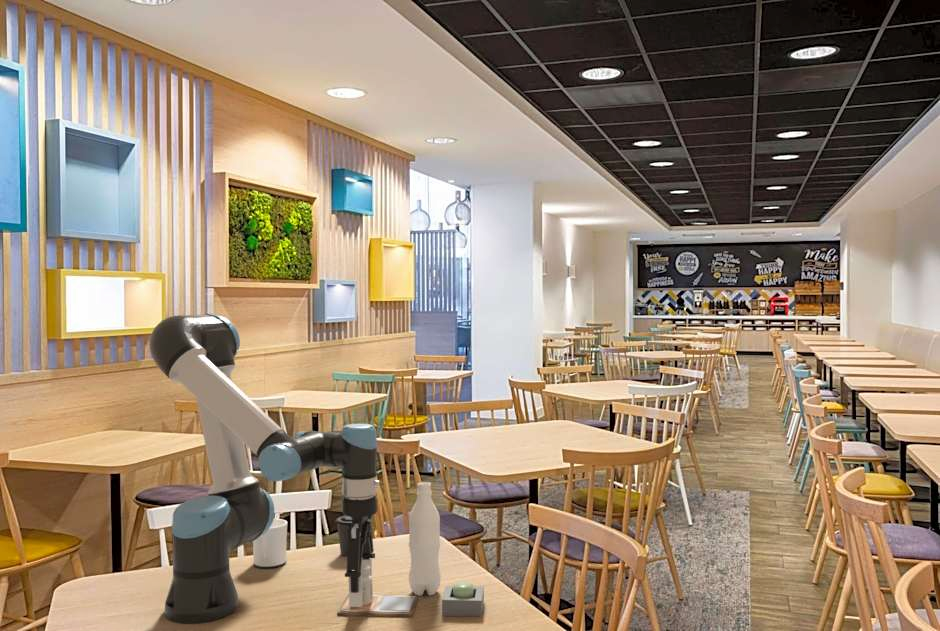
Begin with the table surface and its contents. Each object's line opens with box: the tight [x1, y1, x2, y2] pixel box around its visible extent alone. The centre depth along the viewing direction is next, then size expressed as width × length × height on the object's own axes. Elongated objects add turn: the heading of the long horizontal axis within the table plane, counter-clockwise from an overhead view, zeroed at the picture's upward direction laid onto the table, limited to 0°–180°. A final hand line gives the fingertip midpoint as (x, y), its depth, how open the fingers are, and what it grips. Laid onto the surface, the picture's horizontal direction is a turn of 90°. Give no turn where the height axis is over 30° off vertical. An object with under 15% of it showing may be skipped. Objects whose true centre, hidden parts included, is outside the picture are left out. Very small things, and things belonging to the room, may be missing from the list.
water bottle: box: [408, 481, 441, 597], centre depth 187 cm, size 7×7×25 cm
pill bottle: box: [353, 565, 374, 606], centre depth 179 cm, size 4×4×8 cm
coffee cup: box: [334, 514, 352, 558], centre depth 216 cm, size 8×8×10 cm
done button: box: [452, 581, 474, 598], centre depth 177 cm, size 4×4×3 cm
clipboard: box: [336, 594, 419, 618], centre depth 179 cm, size 16×10×1 cm, turn 86°
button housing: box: [441, 585, 485, 618], centre depth 178 cm, size 8×8×3 cm
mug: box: [252, 518, 288, 570], centre depth 207 cm, size 11×9×10 cm
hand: (360, 597), depth 179 cm, fingers open, 10 cm apart
